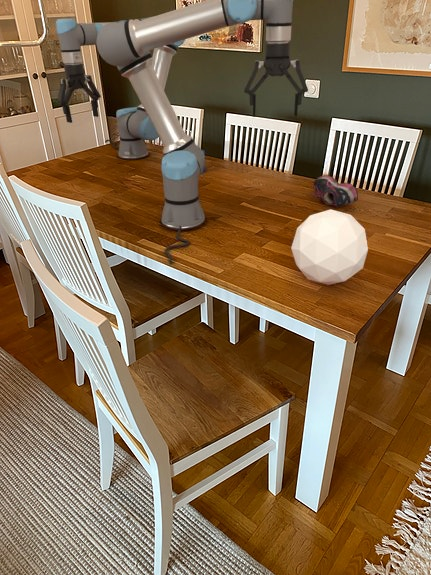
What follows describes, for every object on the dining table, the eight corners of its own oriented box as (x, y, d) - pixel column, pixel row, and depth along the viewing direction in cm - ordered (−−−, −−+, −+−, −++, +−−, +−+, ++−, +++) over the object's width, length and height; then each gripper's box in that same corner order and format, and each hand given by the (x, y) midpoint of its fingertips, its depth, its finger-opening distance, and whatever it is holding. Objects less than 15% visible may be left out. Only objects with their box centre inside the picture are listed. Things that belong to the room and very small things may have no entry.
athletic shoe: (322, 174, 175) (297, 182, 171) (360, 169, 156) (333, 177, 152) (327, 202, 178) (303, 210, 174) (365, 200, 158) (339, 209, 155)
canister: (188, 173, 201) (187, 154, 197) (190, 168, 208) (189, 149, 203) (204, 173, 201) (204, 154, 196) (206, 168, 207) (205, 149, 202)
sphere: (335, 308, 121) (353, 282, 102) (274, 269, 126) (281, 237, 107) (370, 256, 126) (393, 222, 107) (310, 220, 131) (322, 182, 112)
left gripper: (51, 67, 167) (63, 126, 178) (103, 61, 183) (111, 114, 194) (40, 66, 171) (52, 123, 182) (92, 60, 187) (100, 113, 198)
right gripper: (317, 40, 137) (311, 112, 148) (237, 42, 139) (237, 113, 150) (321, 42, 131) (314, 117, 142) (236, 44, 132) (236, 118, 144)
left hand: (83, 119), depth 188 cm, fingers open, 13 cm apart
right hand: (274, 115), depth 146 cm, fingers open, 13 cm apart
